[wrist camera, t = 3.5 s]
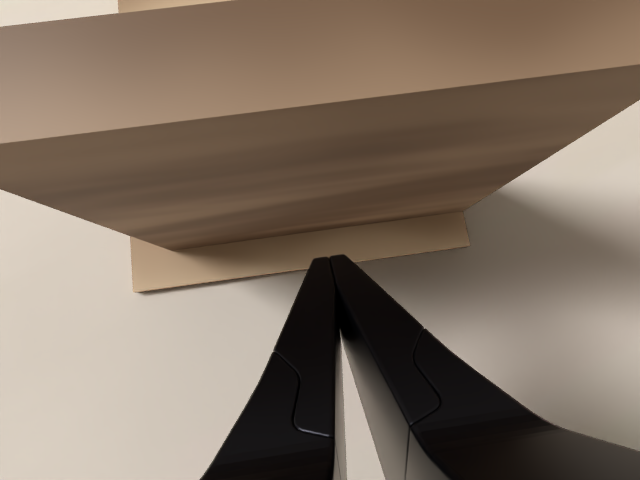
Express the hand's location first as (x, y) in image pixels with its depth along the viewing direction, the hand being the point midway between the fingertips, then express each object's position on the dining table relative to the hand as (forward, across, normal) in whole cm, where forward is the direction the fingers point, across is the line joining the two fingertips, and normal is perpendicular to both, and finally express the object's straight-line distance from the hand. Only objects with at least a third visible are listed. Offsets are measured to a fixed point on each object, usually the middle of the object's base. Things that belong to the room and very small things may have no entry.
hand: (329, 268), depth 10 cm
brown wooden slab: (+9, 0, +3) cm, 9 cm away
